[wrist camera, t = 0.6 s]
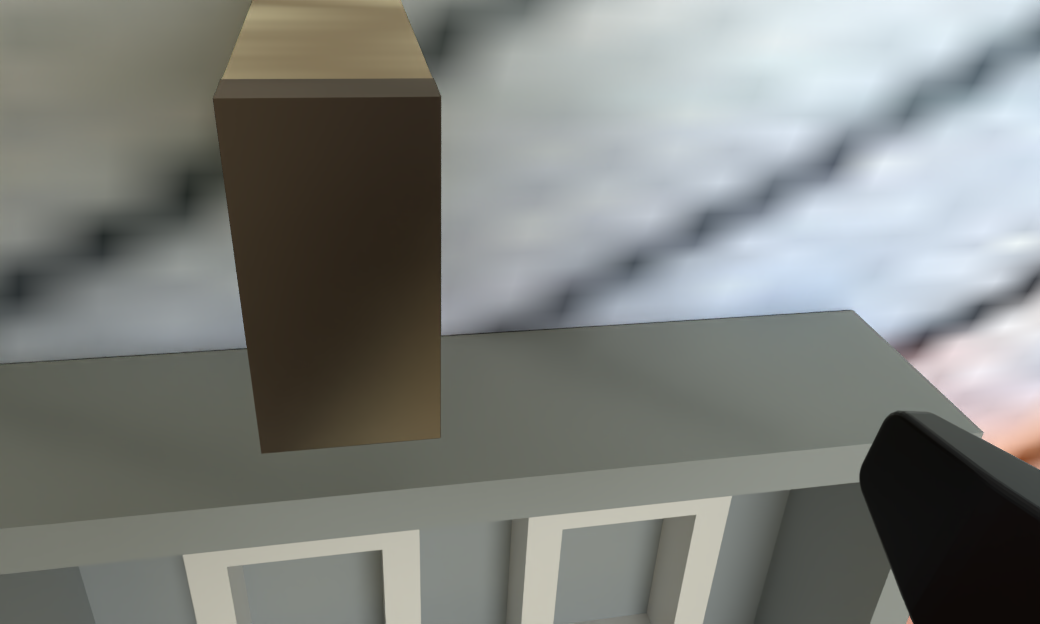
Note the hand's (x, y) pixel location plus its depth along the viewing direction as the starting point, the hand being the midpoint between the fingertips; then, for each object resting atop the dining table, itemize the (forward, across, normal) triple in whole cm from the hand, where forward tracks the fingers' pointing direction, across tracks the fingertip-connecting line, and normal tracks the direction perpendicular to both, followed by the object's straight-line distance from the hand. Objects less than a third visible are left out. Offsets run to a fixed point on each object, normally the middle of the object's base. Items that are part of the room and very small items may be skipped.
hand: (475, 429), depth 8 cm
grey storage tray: (+13, -3, +15) cm, 20 cm away
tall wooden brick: (+13, +2, +1) cm, 13 cm away
